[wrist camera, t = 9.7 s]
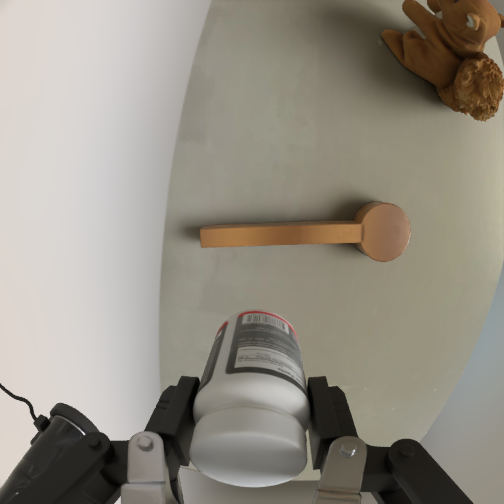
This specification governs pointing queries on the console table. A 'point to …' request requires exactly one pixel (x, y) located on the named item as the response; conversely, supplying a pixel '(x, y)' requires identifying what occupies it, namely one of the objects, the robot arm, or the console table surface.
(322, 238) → the wooden spoon
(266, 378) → the pill bottle
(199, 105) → the console table surface
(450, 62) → the stuffed squirrel
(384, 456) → the robot arm
